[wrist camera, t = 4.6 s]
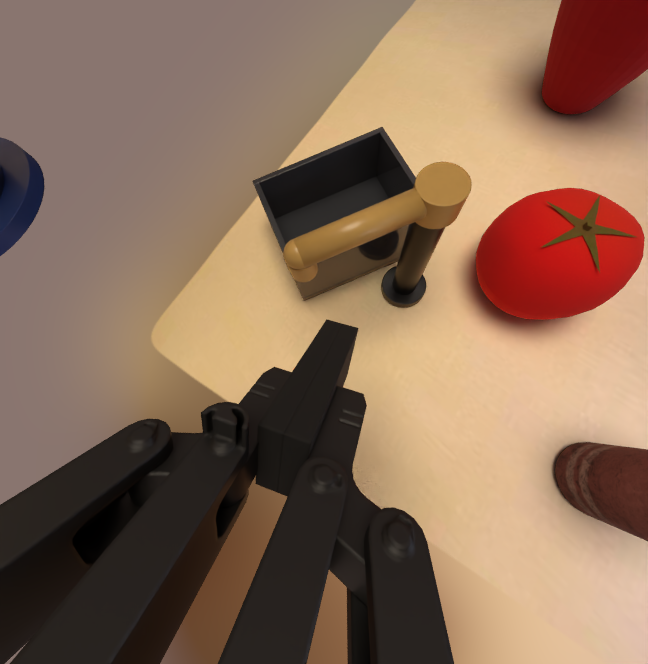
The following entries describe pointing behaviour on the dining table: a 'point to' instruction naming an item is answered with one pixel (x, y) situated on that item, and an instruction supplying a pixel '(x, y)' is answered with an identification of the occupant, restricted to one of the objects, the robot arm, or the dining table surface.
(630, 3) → the vase
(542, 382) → the dining table surface
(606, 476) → the can
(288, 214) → the sink
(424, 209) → the faucet spout
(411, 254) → the faucet base
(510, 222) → the tomato
